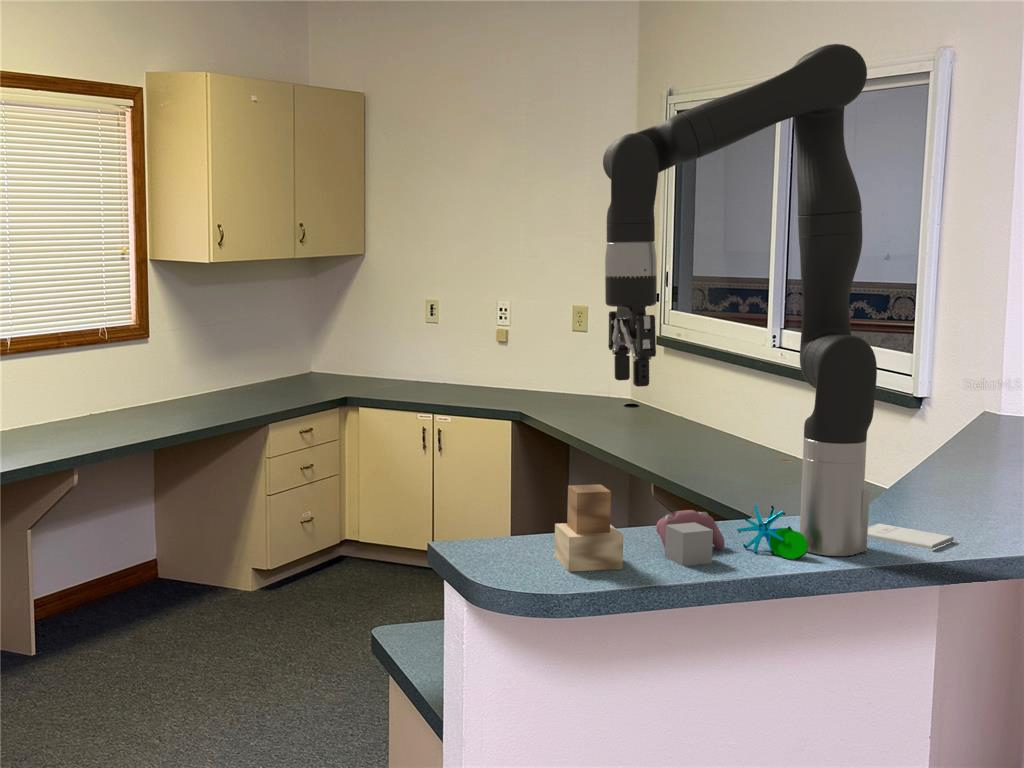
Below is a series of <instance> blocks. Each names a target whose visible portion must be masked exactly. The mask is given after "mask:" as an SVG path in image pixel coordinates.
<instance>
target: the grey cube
mask: <svg viewBox="0 0 1024 768" xmlns="http://www.w3.org/2000/svg"><path fill="white" fill-rule="evenodd" d="M664 558H666V559H667V560H669V561H672V562H673V563H675V564H677V565H680V566H681V567H686V566H695V565H705V564H712V563H713V562H712V561H713V530H711V529H709V528H707V527H704V526H702V525H700V524H697V523H695V522H694V523H682V524H671V525H666V535H665V547H664Z"/></svg>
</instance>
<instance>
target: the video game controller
mask: <svg viewBox="0 0 1024 768" xmlns="http://www.w3.org/2000/svg"><path fill="white" fill-rule="evenodd" d="M694 522H695V523H697V524H700V525H702V526H704V527H707V528H709V529H711V530H713V544H712V546H714V547H715V548H716V549H717V550H719V551H723V550H724V549H725V539H724V536H723V534H722V532H721V530H720V529H719V527H718V525H717V523H716V521H715V520H714V518H713V517H712V516H710V515H709V513H708V512H707V511H702V512H701V511H697V510H694V509H687V510H686V509H685V510H678V511H677V510H676V511H674V512H671V513H668V514H665V515H664V516H663V517H662V518H660V519H659V520H658V521H657V523H656V532H657V534H658V536H659V538H660V540H661V543H662V544H663V548H665V535H666V525H671V524H682V523H694Z"/></svg>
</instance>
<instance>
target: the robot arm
mask: <svg viewBox="0 0 1024 768" xmlns="http://www.w3.org/2000/svg"><path fill="white" fill-rule="evenodd" d="M867 77H868V67H867V64H866V62H865V60H864V57H863V56H862V55H861V53H859V52H858V51H857V50H856V48H853V47H851V46H849V45H847V44H846V45H845V44H843V43H842V44H839V43H833V44H832V43H831V44H827V45H826V44H825V45H824V46H820V47H818V48H816V49H814V50H812V51H810V52H808V53H806V54H805V55H803V56H802V57H800V58H799V59H798V60H797V62H796V63H795V64H794V65H793V66H792V67H791V68H789V69H788V70H785V71H784V72H781V73H780V74H778V75H775V76H774V77H771V78H769V79H767V80H765V81H761V82H759V83H758V84H755V85H752V86H750V87H747V88H743V89H740V90H738V91H735V92H733V93H730V94H727V95H724V96H721V97H718V98H715V99H712V100H710V101H707V102H704V103H701V104H698V105H697V106H694V107H692V108H689V109H687V110H685V111H681V112H680V113H677V114H675V115H673V116H671V117H669V118H668V119H666V120H664V121H663V122H661V123H659V124H656V125H654V126H650V127H648V128H646V129H642V130H639V131H637V132H631V133H626V134H624V135H622V136H620V137H619V138H617V139H615V140H614V141H612V142H611V143H610V144H608V146H607V148H606V149H605V152H604V154H603V157H602V168H603V170H604V172H605V174H606V176H607V178H609V179H610V204H609V206H608V207H607V212H606V213H607V214H606V247H605V248H606V249H605V256H604V258H605V259H604V275H605V276H604V278H605V281H604V282H605V283H604V285H605V304H606V306H608V307H615V308H616V310H612V311H608V312H609V313H608V345H607V346H608V350H609V351H611V353H612V355H613V356H614V379H615V380H616V381H628V380H630V378H631V368H630V367H631V366H630V363H631V361H630V360H631V357H630V353H631V356H632V363H633V364H632V374H633V375H632V376H633V377H632V379H633V380H632V381H633V385H634V386H635V387H648V386H649V385H650V361H651V360H652V358H654V357H656V355H657V348H656V347H657V344H656V341H657V340H656V317H655V315H654V314H647V311H646V308H647V307H653V306H655V305H656V304H657V302H658V301H657V299H658V298H657V297H658V296H657V295H658V294H657V290H658V289H657V288H658V287H657V284H658V283H657V270H658V269H657V267H658V266H657V263H658V262H657V253H656V252H657V251H656V237H655V235H656V233H655V232H656V230H655V227H656V224H655V223H656V222H655V202H656V196H657V188H658V181H659V180H658V179H659V174H660V173H662V172H663V171H666V170H668V169H670V168H672V167H675V166H677V165H681V164H685V163H688V162H692V161H694V160H697V159H700V158H702V157H704V156H707V155H709V154H712V153H714V152H716V151H717V152H718V151H719V150H721V149H724V148H726V147H728V146H731V145H733V144H735V143H736V142H739V141H741V140H743V139H745V138H747V137H749V136H752V135H754V134H755V133H758V132H760V131H762V130H765V129H767V128H769V127H771V126H773V125H776V124H778V123H781V122H783V121H786V120H789V119H791V118H792V120H793V128H794V134H795V143H796V179H797V180H796V182H797V183H796V184H797V186H796V187H797V226H798V229H797V230H798V244H799V245H798V246H799V261H800V262H799V263H800V279H801V293H802V294H801V295H802V314H801V316H802V317H801V329H800V330H801V332H800V347H799V366H800V371H801V374H802V376H803V377H804V379H805V381H806V382H807V383H808V384H809V385H810V386H811V387H812V388H814V389H815V397H814V406H813V411H812V413H811V414H810V416H808V417H807V418H806V419H805V421H804V425H803V443H802V444H803V445H802V446H803V448H802V466H801V467H802V472H801V474H802V475H801V490H800V491H801V494H800V518H799V521H800V522H799V531H798V532H799V533H801V534H802V535H803V536H804V537H805V538H806V540H807V543H808V550H807V553H811V554H815V555H819V556H820V555H823V556H828V557H829V556H830V557H831V556H832V557H848V556H849V555H850V556H855V555H854V554H856V555H858V554H861V553H864V552H863V551H867V552H868V539H867V537H868V527H869V514H870V499H871V498H870V496H871V493H870V491H869V490H868V489H866V488H865V483H866V482H865V479H866V459H867V458H866V457H867V440H868V439H867V438H868V431H869V429H870V426H871V424H872V421H873V417H874V411H875V401H876V390H877V389H876V388H877V377H878V369H877V368H878V366H877V359H876V358H877V357H876V355H875V354H876V353H875V352H874V350H873V348H872V347H871V345H870V344H869V343H868V341H866V340H865V339H862V338H861V337H859V336H856V335H852V331H851V318H850V296H851V295H850V294H851V289H852V285H853V282H854V278H855V274H856V271H857V270H858V269H857V268H858V265H859V261H860V259H861V254H862V250H863V249H862V248H863V213H862V211H863V209H862V199H861V195H860V191H859V188H858V184H857V181H856V178H855V175H854V171H853V169H852V166H851V163H850V161H849V158H848V155H847V151H846V150H847V149H846V144H845V127H844V126H845V117H844V116H845V107H846V106H848V105H849V104H851V103H852V102H853V101H855V100H856V99H857V98H858V96H860V94H861V93H862V91H863V89H864V88H865V85H866V83H867ZM860 552H861V553H860ZM857 553H858V554H857ZM850 556H849V557H850Z"/></svg>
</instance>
